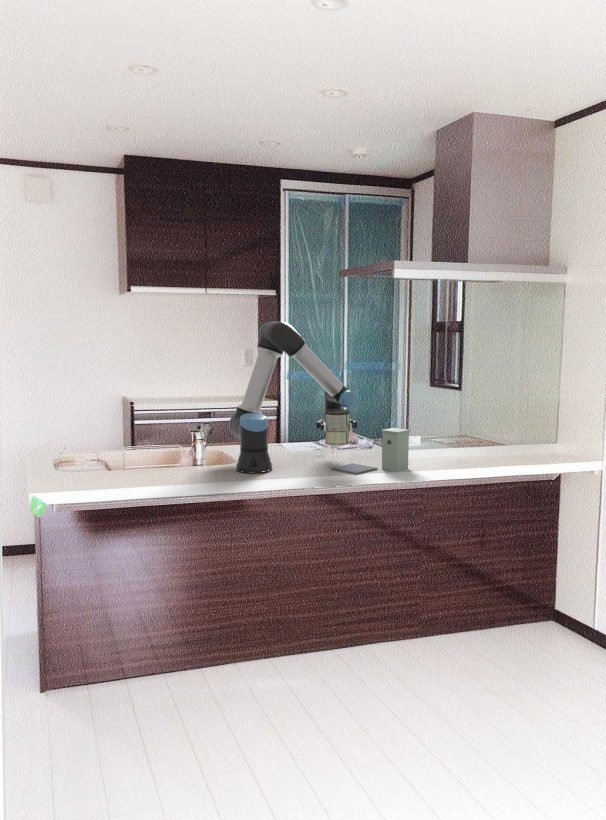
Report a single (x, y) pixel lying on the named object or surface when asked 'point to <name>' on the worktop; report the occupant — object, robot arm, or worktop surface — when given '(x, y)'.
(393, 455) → the block
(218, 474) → the worktop surface
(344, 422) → the coffee can
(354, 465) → the pad
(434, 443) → the worktop surface
